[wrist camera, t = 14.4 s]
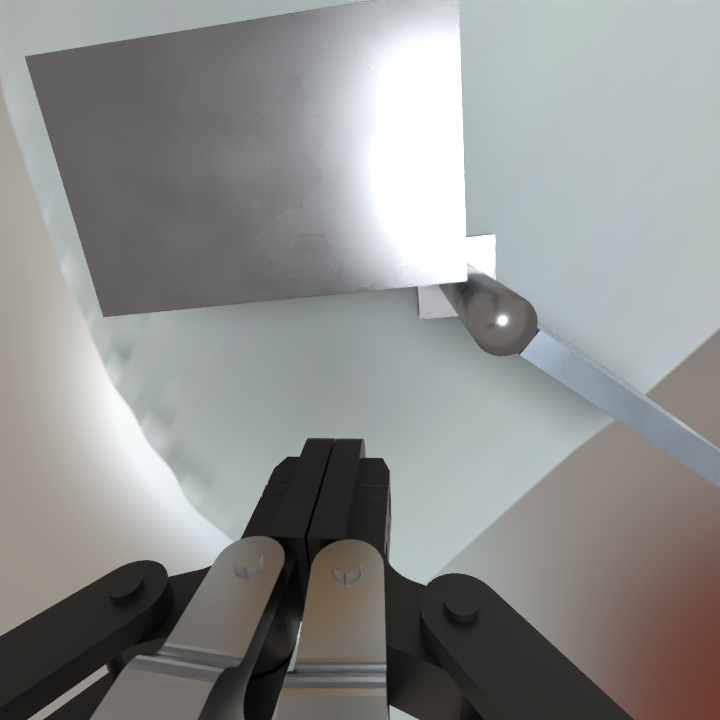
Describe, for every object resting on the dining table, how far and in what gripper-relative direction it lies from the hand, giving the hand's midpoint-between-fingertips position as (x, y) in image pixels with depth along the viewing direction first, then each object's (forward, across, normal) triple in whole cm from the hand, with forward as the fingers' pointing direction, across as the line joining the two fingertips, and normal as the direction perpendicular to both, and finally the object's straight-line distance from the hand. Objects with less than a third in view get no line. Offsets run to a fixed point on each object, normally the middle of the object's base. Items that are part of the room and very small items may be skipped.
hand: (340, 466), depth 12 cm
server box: (+19, -3, +5) cm, 20 cm away
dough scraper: (+19, +11, -3) cm, 22 cm away
